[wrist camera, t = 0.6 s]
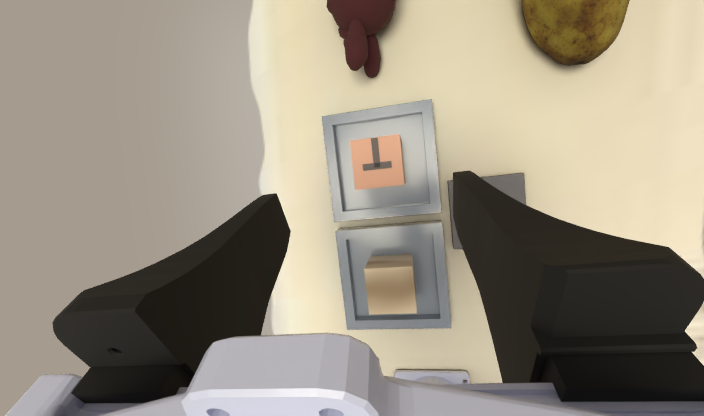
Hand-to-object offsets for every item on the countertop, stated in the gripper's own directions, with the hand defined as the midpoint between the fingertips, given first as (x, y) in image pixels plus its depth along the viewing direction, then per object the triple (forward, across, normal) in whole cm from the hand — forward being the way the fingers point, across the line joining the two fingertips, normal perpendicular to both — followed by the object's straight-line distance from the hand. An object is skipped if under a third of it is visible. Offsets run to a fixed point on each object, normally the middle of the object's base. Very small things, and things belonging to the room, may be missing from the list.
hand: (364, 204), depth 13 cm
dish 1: (+19, 0, +8) cm, 21 cm away
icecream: (+27, 0, -6) cm, 28 cm away
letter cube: (+19, 0, +7) cm, 20 cm away
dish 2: (+14, 0, +18) cm, 23 cm away
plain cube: (+13, 0, +18) cm, 22 cm away
